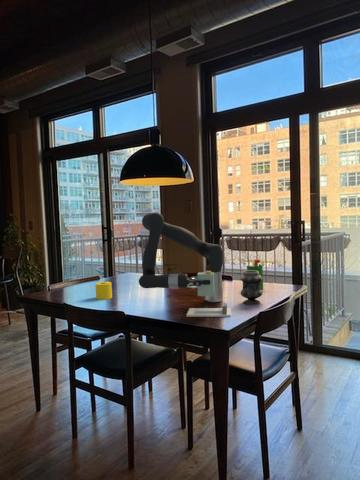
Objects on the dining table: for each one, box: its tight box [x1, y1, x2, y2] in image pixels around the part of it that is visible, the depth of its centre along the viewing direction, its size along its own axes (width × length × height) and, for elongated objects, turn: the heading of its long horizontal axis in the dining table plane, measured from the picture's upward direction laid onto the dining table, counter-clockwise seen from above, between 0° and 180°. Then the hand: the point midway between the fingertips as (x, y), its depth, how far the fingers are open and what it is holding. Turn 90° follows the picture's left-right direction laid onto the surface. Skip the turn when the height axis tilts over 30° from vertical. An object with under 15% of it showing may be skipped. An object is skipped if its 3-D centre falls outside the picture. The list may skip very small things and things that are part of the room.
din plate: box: [186, 302, 232, 318], centre depth 193 cm, size 22×12×5 cm, turn 81°
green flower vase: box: [246, 258, 264, 291], centre depth 246 cm, size 10×9×20 cm
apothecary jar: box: [239, 269, 263, 306], centre depth 210 cm, size 12×12×18 cm
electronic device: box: [186, 285, 198, 289], centre depth 268 cm, size 18×2×15 cm
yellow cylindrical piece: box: [95, 281, 113, 301], centre depth 239 cm, size 10×10×9 cm
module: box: [196, 270, 215, 297], centre depth 190 cm, size 8×6×12 cm
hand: (210, 281), depth 190 cm, fingers closed on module, 6 cm apart
